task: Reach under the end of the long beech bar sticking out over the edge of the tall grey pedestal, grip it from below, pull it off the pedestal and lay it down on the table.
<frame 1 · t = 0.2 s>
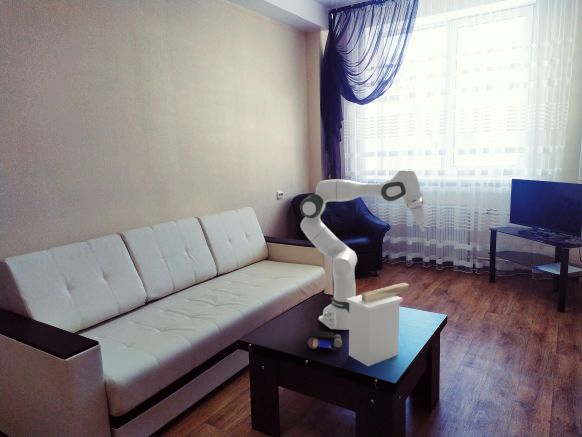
hand: (422, 229, 201), 52 cm above the table, tool tilted 15°, fingers open, 8 cm apart
beech bar: (385, 295, 185), point 26 cm above the table, touching pedestal
figurine character: (324, 348, 193), on the table
pedestal: (373, 355, 185), on the table
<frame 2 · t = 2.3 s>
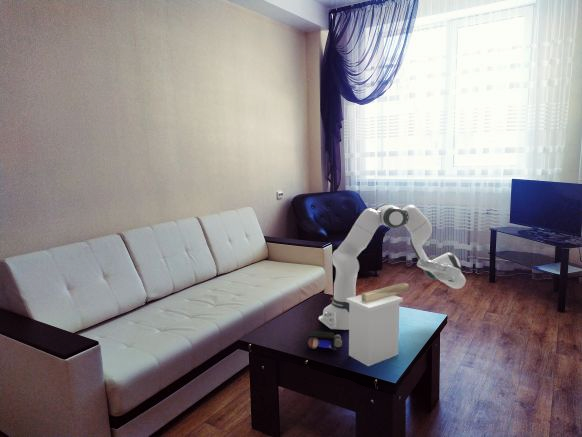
hand: (428, 262, 199), 37 cm above the table, tool pointing upward, fingers open, 8 cm apart
nothing on the table moved.
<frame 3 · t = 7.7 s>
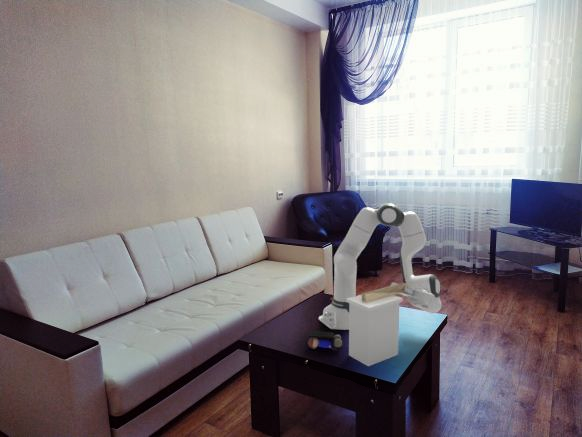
hand: (400, 287, 190), 28 cm above the table, tool pointing upward, fingers closed on beech bar, 3 cm apart
beech bar: (385, 295, 185), point 26 cm above the table, touching gripper, pedestal
everything else where it was.
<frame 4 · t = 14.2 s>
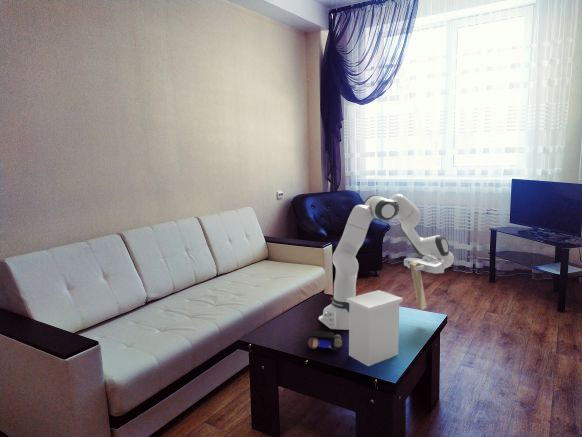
hand: (412, 267, 210), 31 cm above the table, tool horizontal, fingers closed on beech bar, 3 cm apart
beech bar: (420, 284, 216), point 21 cm above the table, tilted 107°, touching gripper
everything else where it was.
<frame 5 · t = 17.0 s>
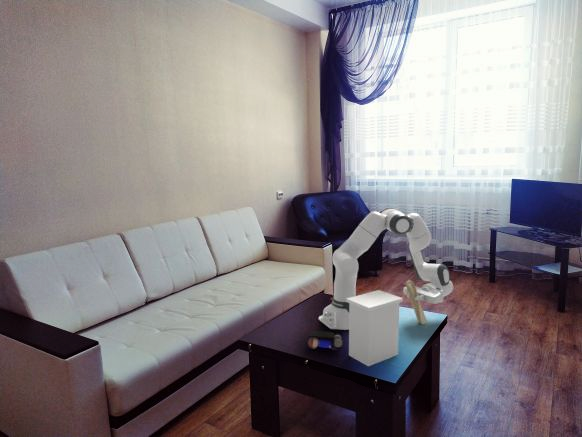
hand: (411, 297, 213), 16 cm above the table, tool horizontal, fingers closed on beech bar, 3 cm apart
beech bar: (417, 300, 216), point 13 cm above the table, tilted 116°, touching gripper
everything else where it was.
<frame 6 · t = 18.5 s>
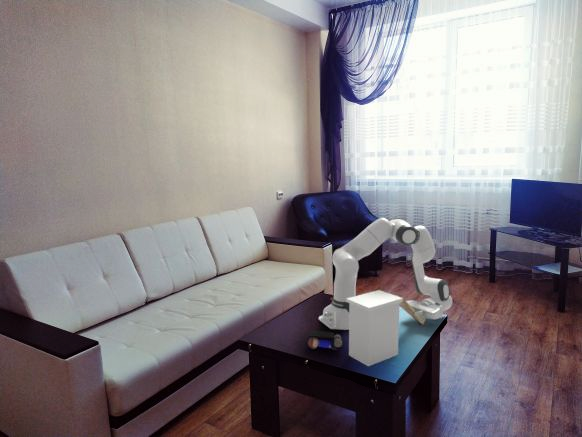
hand: (410, 312, 214), 8 cm above the table, tool horizontal, fingers closed on beech bar, 3 cm apart
beech bar: (411, 307, 213), point 11 cm above the table, tilted 140°, touching gripper
everything else where it was.
when the fingers open (7 cm above the table, at t = 19.1 s): beech bar drops 7 cm and tips over, point 3 cm above the table.
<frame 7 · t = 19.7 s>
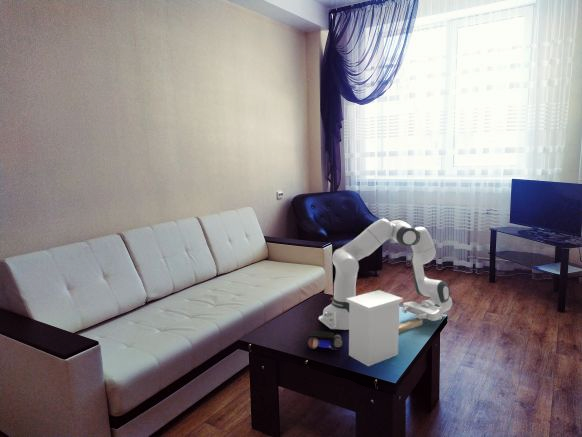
hand: (410, 314, 214), 7 cm above the table, tool horizontal, fingers open, 8 cm apart
beech bar: (403, 324, 212), point 3 cm above the table, tilted 180°
everything else where it was.
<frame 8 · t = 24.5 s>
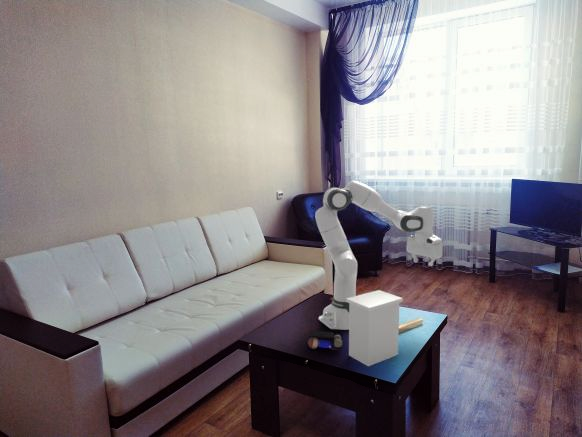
hand: (423, 263, 218), 31 cm above the table, tool pointing down, fingers open, 8 cm apart
nothing on the table moved.
at the end: beech bar touching table; beech bar point 2.6 cm above the table; the gripper is holding nothing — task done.
